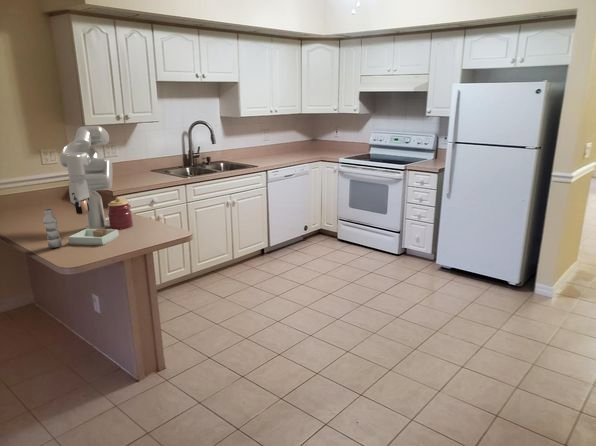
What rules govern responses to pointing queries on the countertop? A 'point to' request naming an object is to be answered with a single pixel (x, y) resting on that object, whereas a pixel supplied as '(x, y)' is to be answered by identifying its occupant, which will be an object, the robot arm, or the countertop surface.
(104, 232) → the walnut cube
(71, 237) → the box
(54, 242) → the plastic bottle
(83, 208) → the tan rounded-top part
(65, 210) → the countertop surface
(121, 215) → the canister
